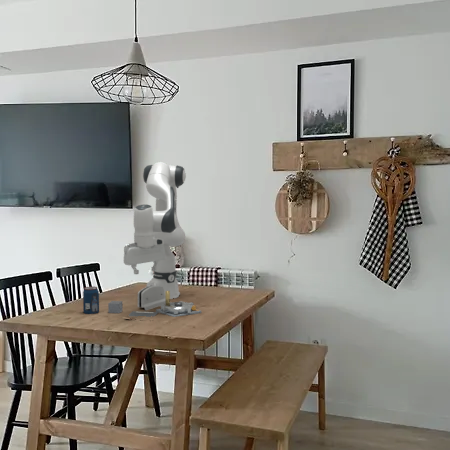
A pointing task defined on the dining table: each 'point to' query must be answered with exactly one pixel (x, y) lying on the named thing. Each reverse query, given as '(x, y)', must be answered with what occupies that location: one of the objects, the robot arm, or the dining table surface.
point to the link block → (115, 307)
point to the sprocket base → (179, 313)
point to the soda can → (90, 300)
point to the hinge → (151, 297)
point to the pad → (143, 313)
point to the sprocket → (176, 306)
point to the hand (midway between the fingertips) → (145, 272)
